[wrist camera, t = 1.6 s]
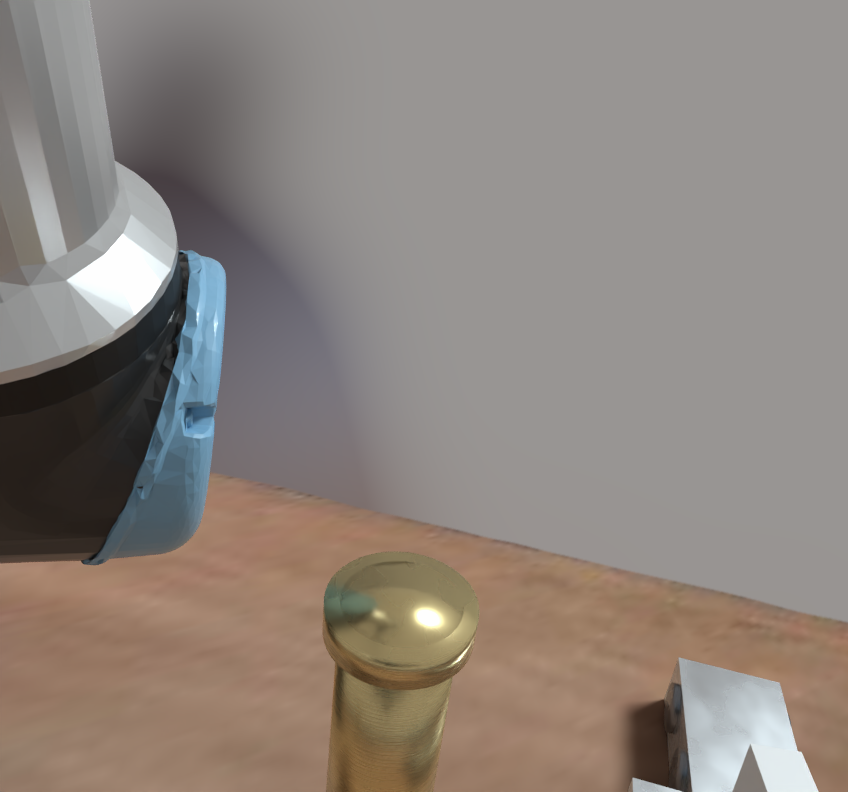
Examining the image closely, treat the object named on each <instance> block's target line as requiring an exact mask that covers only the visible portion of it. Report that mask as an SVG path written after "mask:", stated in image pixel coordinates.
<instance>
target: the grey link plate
mask: <svg viewBox="0 0 848 792" xmlns="http://www.w3.org/2000/svg"><path fill="white" fill-rule="evenodd" d="M664 702H665V707H664V728H665V731H666V732H667V744H668V758H669V771H670V772H669V786H668V787H669V788H668V787H664V786H661V785H657V784H654V783H650V782H647V781H643V780H640V779H636V778H632V781H631V783H630V786H629V789H628V792H732V791H733V789H734V786H735V783H736V781H737V778H738V775H739V773H740V770H741V767H742V764H743V762H744V759H745V756H746V754H747V751H748V748H749V746H750V743H751V744H757V745H763V746H768V747H774V748H780V749H786V750H792V751H797V748H796V744H795V740H794V736H793V732H792V728H791V721H790V718H789V715H788V713H787V709H786V705H785V702H784V698H783V694H782V690H781V686H780V683H778V682H774V681H770V680H766V679H762V678H758V677H754V676H750V675H746V674H742V673H738V672H734V671H730V670H726V669H722V668H718V667H714V666H711V665H707V664H703V663H699V662H695V661H691V660H687V659H683V658H678V661H677V664H676V667H675V669H674V672H673V675H672V678H671V681H670V684H669V686H668V689H667V692H666V695H665V698H664Z"/></svg>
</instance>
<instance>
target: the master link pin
mask: <svg viewBox="0 0 848 792" xmlns="http://www.w3.org/2000/svg"><path fill="white" fill-rule="evenodd" d="M478 619H479V604H478V600H477V597H476V594H475V592H474V590H473V589H472V587H471V586H470V584H469V583H468V582H467V581H466V580H465V578H464V577H463V576H461V575H460V574H459V573H458V572H457V571H455V570H454V569H453V568H451V567H449V566H448V565H446V564H444V563H442V562H440V561H438V560H436V559H433V558H430V557H427V556H423V555H419V554H414V553H408V552H381V553H376V554H371V555H367V556H364V557H361V558H358V559H356V560H354V561H352V562H350V563H348V564H347V565H345V566H344V567H342V568H341V569H340V570H339V571H338V572H337V573H336V574H335V575H334V576H333V577H332V579H331V580H330V582H329V584H328V586H327V588H326V591H325V596H324V610H323V639H324V643H325V646H326V648H327V650H328V652H329V654H330V656H331V657H332V658H333V660H334V661H335V675H334V689H333V703H332V716H331V730H330V744H329V758H328V772H327V786H326V792H433V789H434V783H435V777H436V772H437V766H438V760H439V754H440V748H441V742H442V736H443V730H444V725H445V719H446V713H447V707H448V701H449V695H450V689H451V683H452V678H453V676H454V675H455V674H457V673H458V672H459V671H460V670H461V669H462V668H463V667H464V665H465V664H466V663H467V661H468V660H469V658H470V655H471V653H472V650H473V646H474V641H475V635H476V630H477V625H478Z"/></svg>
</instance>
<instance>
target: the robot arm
mask: <svg viewBox="0 0 848 792" xmlns="http://www.w3.org/2000/svg"><path fill="white" fill-rule="evenodd" d="M225 305H226V275H225V271H224V269H223V267H222V266H221V264H220V263H219V262H217V261H216V260H214V259H211V258H208V257H204V256H200V255H198V254H197V253H196V252H194V251H192V250H189V251H182V250H180V251H178V239H177V235H176V231H175V228H174V223H173V220H172V217H171V213H170V211H169V209H168V207H167V206H166V204H165V203H164V201H163V199H162V198H161V196H160V195H159V194H158V193H157V192H156V191H155V190H154V189H153V188H152V187H151V186H150V185H149V184H148V183H147V182H146V181H144V180H143V179H142V178H141V177H139V176H138V175H137V174H136V173H134V172H132V171H131V170H129V169H128V168H126V167H124V166H123V165H121V164H119V163H117V162H116V161H115V160H114V154H113V147H112V141H111V135H110V128H109V122H108V116H107V110H106V103H105V97H104V90H103V84H102V78H101V71H100V65H99V59H98V52H97V46H96V40H95V33H94V27H93V21H92V14H91V8H90V2H89V0H0V563H21V562H48V561H81V562H82V563H83V564H86V565H99V564H102V563H105V562H106V561H107V560H108V559H113V558H124V557H134V556H145V555H156V554H163V553H167V552H170V551H173V550H175V549H177V548H179V547H181V546H182V545H184V544H185V543H186V542H187V541H188V540H189V539H190V538H191V537H192V536H193V535H194V533H195V532H196V530H197V529H198V527H199V524H200V522H201V519H202V515H203V511H204V506H205V501H206V495H207V489H208V481H209V474H210V466H211V457H212V448H213V438H214V424H215V422H214V414H215V412H216V405H217V395H218V389H219V383H220V373H221V362H222V350H223V337H224V321H225ZM732 792H818V790H817V787H816V785H815V783H814V780H813V778H812V776H811V773H810V771H809V769H808V766H807V764H806V762H805V759H804V757H803V755H802V752H798V751H792V750H786V749H780V748H774V747H768V746H763V745H757V744H751V743H750V746H749V748H748V751H747V754H746V756H745V759H744V762H743V764H742V767H741V770H740V773H739V775H738V778H737V781H736V783H735V786H734V789H733V791H732Z"/></svg>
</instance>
